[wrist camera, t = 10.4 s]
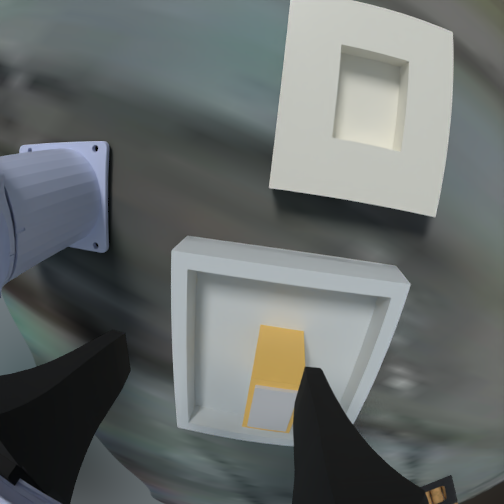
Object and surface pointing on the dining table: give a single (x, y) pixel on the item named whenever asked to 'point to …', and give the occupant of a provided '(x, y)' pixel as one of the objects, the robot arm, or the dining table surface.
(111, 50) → the dining table surface
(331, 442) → the robot arm
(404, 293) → the parts tray
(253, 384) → the block
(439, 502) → the ammunition clip
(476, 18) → the dining table surface
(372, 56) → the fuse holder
